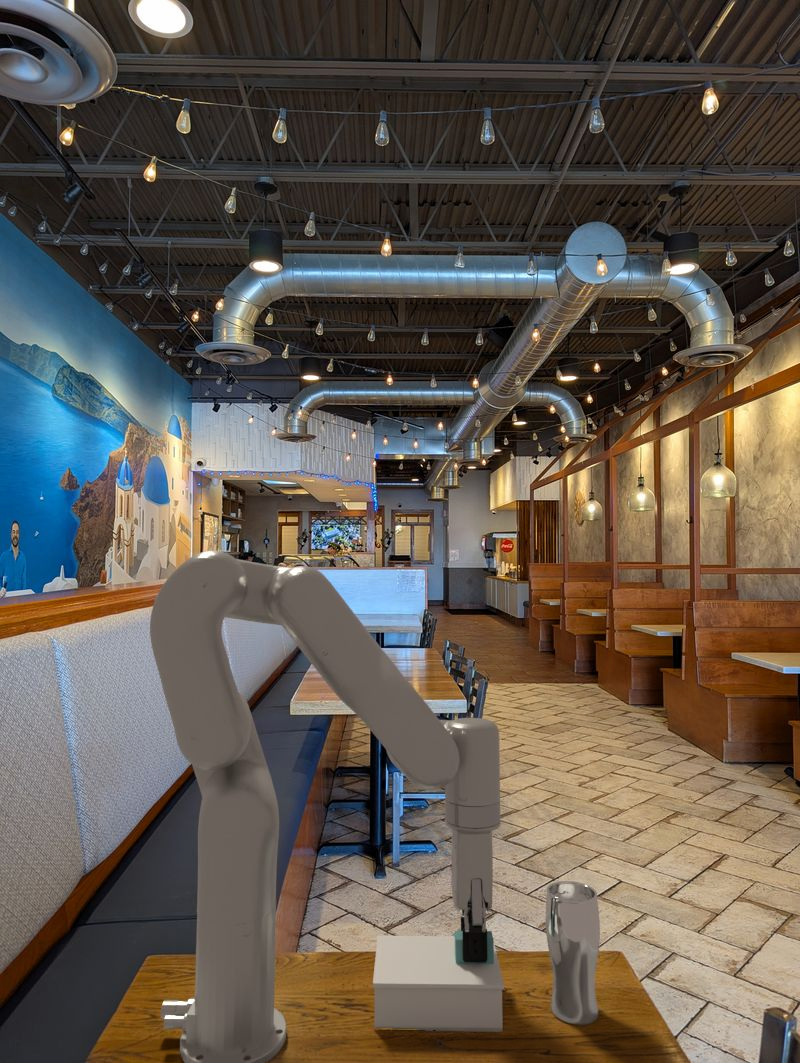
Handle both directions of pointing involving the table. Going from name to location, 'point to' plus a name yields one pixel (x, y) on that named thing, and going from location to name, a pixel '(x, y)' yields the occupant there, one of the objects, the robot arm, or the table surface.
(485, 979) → the box lid
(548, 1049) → the table surface
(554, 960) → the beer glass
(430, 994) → the mailer box
